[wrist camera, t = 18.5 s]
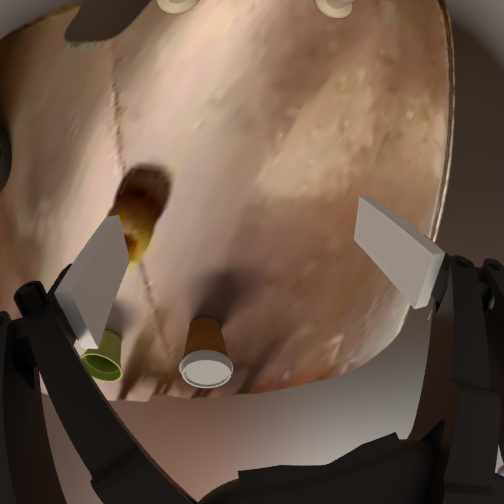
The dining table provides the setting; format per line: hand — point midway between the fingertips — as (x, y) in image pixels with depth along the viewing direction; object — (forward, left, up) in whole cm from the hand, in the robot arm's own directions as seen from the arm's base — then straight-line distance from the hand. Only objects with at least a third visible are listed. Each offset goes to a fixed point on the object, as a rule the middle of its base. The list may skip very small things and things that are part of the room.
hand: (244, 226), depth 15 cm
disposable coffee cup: (+15, -32, -29) cm, 46 cm away
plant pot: (-2, -46, -29) cm, 54 cm away
